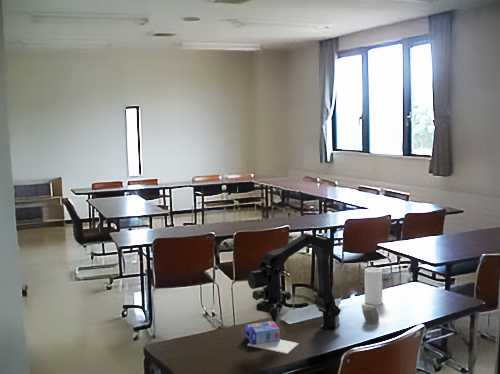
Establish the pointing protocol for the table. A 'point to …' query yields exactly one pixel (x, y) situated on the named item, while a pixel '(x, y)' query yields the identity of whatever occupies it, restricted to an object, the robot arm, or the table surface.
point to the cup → (373, 285)
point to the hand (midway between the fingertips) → (274, 321)
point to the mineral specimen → (370, 314)
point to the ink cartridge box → (262, 332)
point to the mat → (277, 346)
